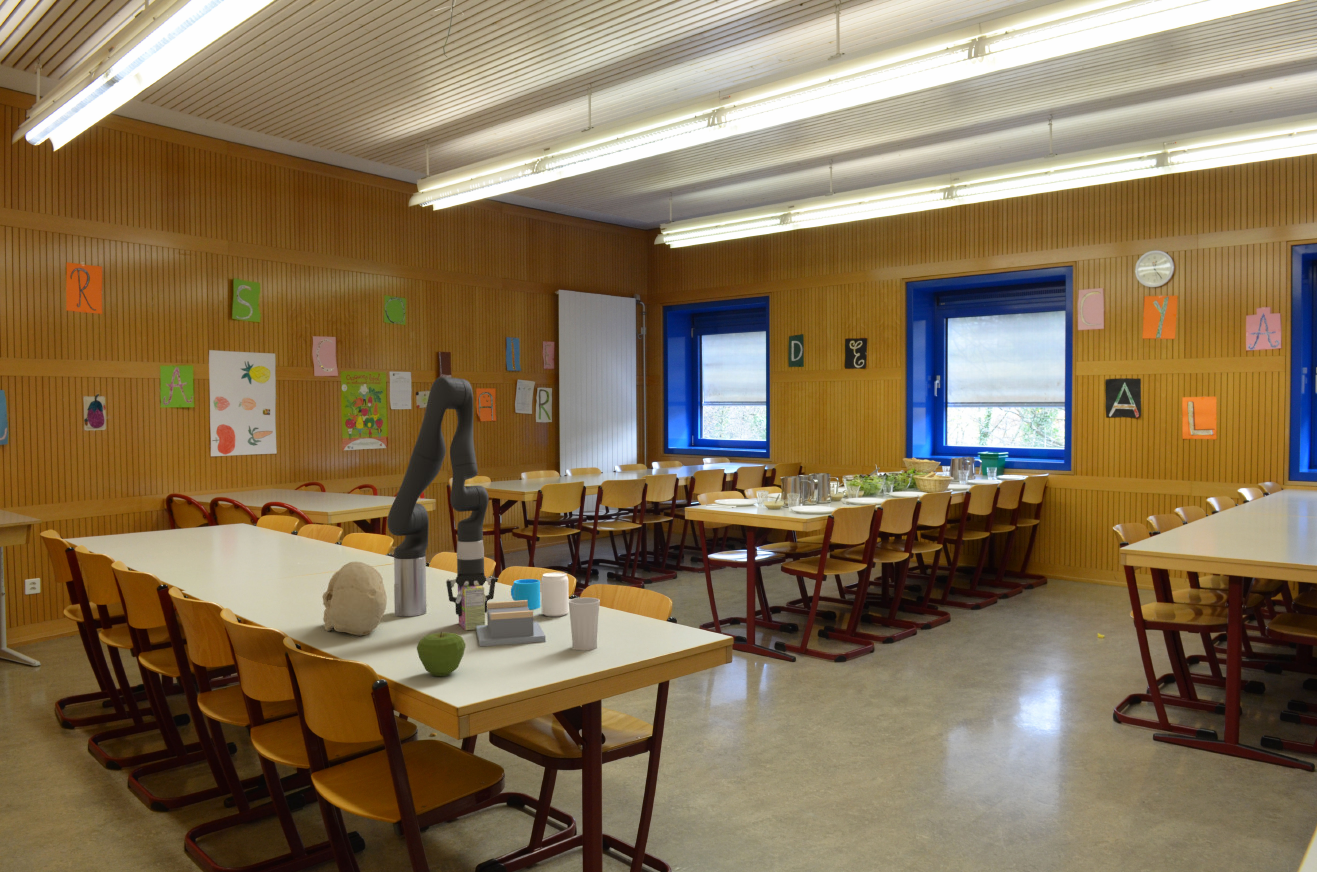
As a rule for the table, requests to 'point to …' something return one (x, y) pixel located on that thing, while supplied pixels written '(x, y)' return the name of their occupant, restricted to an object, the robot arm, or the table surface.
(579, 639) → the cup
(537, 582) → the mug
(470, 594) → the box
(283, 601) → the table surface
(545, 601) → the beverage can
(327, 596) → the skull
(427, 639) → the apple
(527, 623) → the display stand
